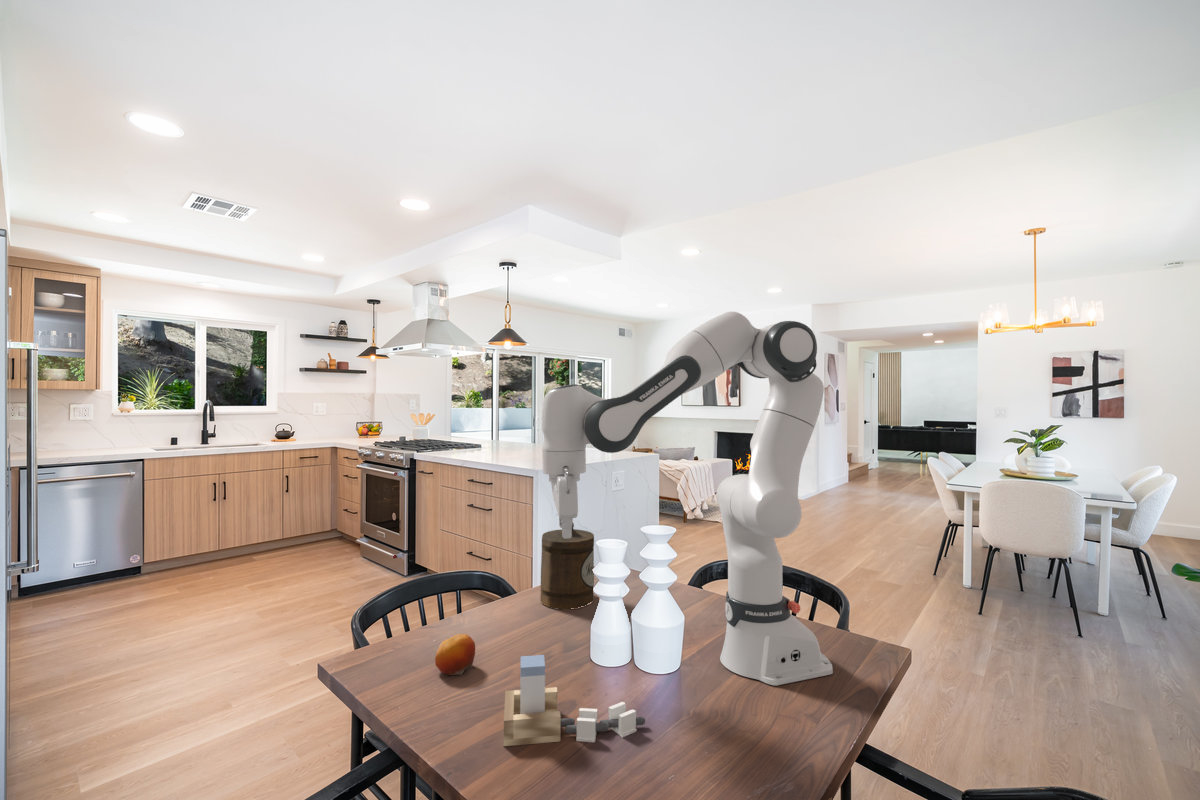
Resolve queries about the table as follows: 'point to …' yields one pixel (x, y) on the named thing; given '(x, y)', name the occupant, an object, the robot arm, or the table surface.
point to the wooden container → (567, 569)
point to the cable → (600, 726)
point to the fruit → (455, 654)
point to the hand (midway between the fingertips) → (565, 532)
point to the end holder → (531, 720)
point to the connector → (532, 684)
